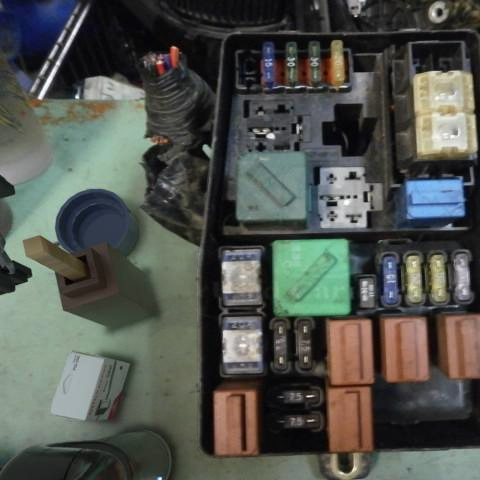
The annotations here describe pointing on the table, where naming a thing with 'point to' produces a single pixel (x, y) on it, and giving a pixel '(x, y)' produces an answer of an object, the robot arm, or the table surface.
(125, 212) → the bowl
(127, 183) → the table surface
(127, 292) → the stand
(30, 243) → the stirring stick
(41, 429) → the table surface
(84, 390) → the ink box
